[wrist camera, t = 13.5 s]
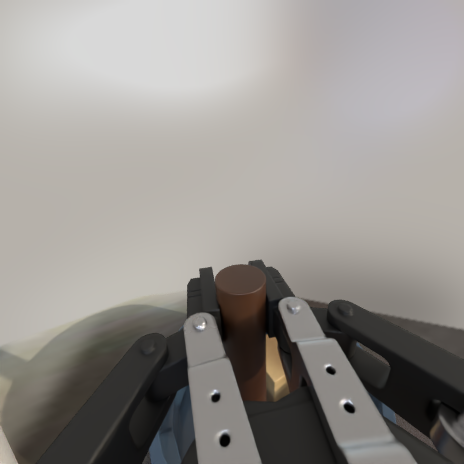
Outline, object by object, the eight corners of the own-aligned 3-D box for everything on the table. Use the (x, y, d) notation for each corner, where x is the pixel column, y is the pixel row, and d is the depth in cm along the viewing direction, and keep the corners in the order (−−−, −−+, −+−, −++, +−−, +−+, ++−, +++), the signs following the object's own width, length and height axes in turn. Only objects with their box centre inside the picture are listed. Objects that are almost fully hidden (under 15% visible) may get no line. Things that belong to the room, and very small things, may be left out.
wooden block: (273, 413, 19) (274, 382, 18) (247, 374, 22) (246, 345, 21) (307, 386, 21) (310, 357, 19) (278, 354, 24) (279, 326, 23)
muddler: (229, 503, 14) (200, 315, 8) (221, 433, 17) (196, 262, 11) (285, 486, 14) (297, 297, 8) (267, 421, 18) (267, 252, 12)
